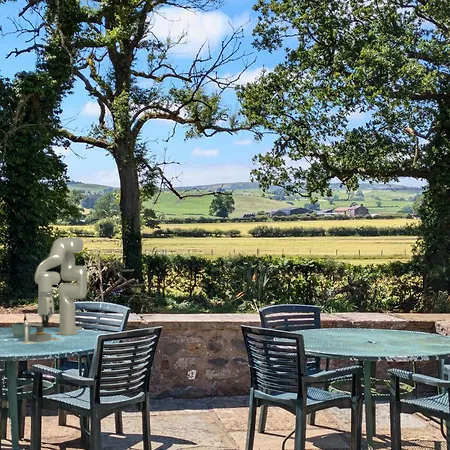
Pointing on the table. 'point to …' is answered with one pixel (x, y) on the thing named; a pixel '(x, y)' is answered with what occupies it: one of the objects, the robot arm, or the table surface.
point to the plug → (39, 330)
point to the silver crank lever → (33, 324)
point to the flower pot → (19, 330)
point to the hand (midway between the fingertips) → (45, 327)
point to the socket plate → (36, 337)
